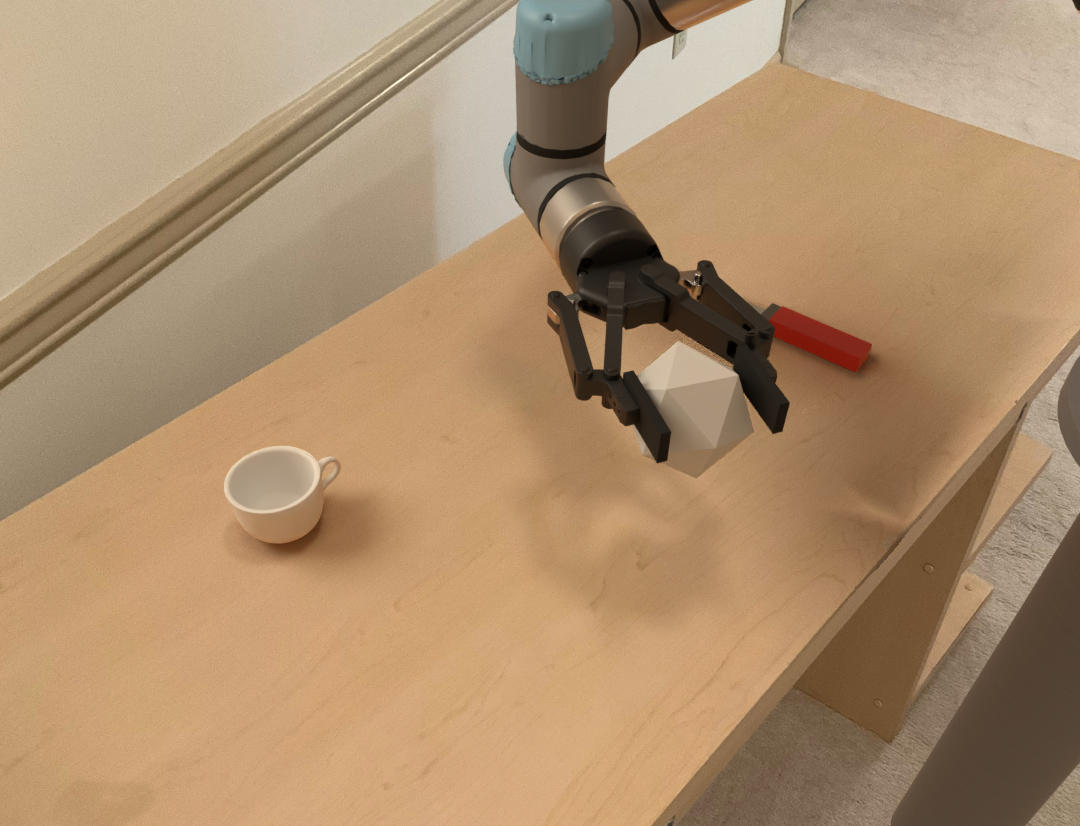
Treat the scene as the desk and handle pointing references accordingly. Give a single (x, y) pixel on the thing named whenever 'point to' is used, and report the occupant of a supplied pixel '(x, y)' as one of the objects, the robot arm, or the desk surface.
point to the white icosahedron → (696, 408)
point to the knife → (816, 337)
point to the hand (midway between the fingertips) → (723, 432)
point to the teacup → (278, 492)
